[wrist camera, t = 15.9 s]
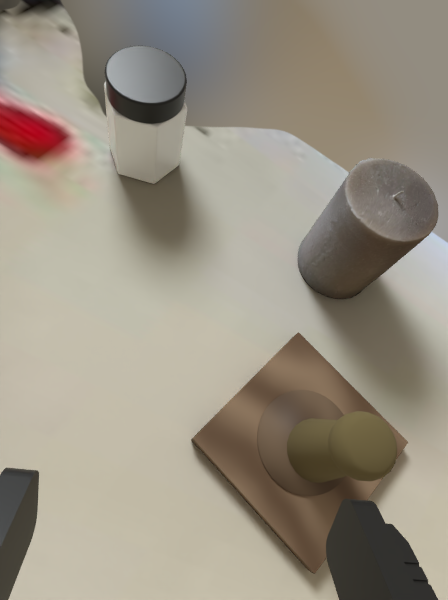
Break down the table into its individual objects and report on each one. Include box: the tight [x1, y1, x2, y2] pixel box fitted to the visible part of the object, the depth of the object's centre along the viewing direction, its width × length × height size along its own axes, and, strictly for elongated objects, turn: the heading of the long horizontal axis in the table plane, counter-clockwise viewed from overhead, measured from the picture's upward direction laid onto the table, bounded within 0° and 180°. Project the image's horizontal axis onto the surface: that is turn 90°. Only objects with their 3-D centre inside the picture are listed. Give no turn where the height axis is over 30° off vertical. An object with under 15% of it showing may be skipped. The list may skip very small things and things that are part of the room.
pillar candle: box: [298, 158, 438, 299], centre depth 45 cm, size 10×10×15 cm
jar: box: [104, 46, 187, 184], centre depth 47 cm, size 9×8×12 cm
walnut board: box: [191, 332, 408, 574], centre depth 42 cm, size 16×16×2 cm
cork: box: [287, 411, 397, 483], centre depth 36 cm, size 6×6×11 cm
